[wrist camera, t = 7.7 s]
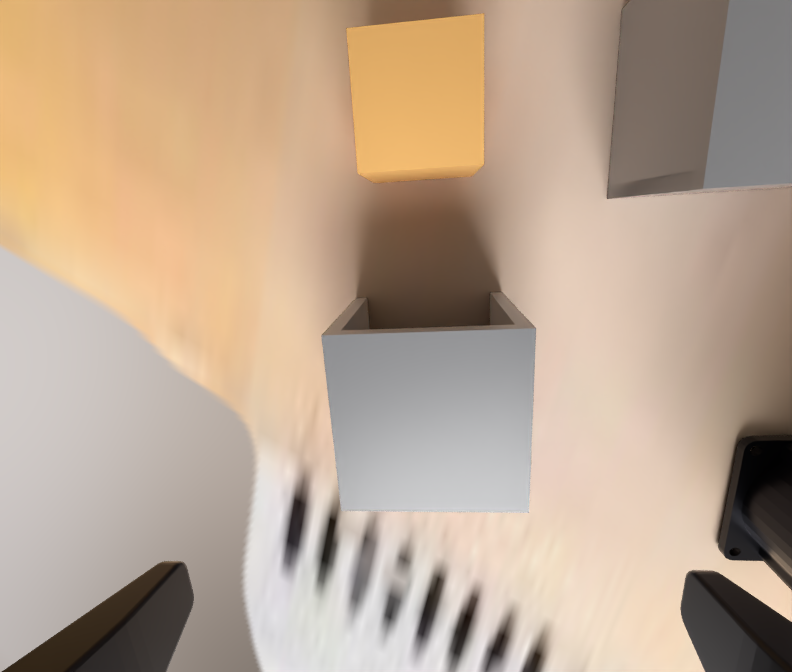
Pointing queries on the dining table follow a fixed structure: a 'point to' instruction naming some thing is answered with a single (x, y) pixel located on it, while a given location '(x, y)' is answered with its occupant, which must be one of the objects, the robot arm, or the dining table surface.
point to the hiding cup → (432, 412)
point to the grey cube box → (702, 97)
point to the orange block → (418, 98)
